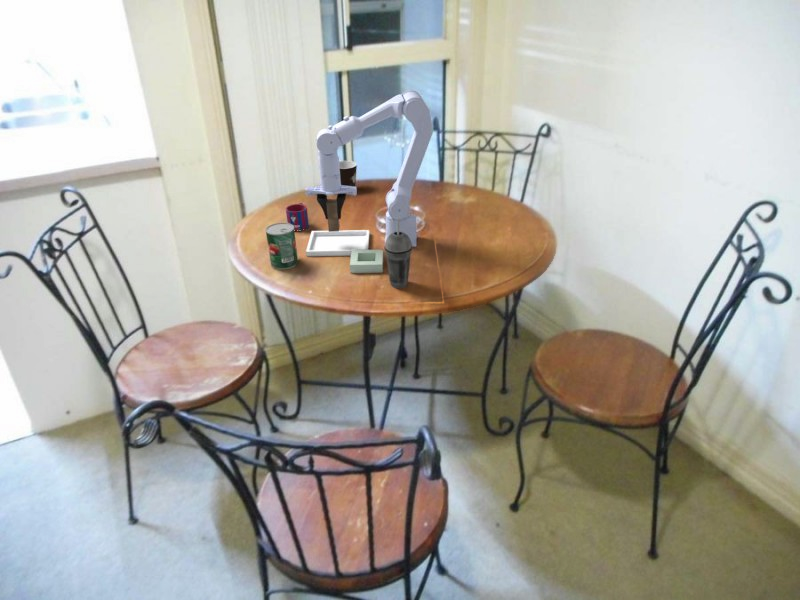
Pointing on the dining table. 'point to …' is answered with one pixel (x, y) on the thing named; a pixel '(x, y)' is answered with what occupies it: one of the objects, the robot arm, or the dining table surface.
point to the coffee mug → (348, 173)
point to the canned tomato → (282, 245)
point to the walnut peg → (332, 215)
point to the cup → (297, 216)
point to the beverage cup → (398, 257)
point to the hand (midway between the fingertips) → (333, 217)
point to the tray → (337, 242)
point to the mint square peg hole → (366, 261)
